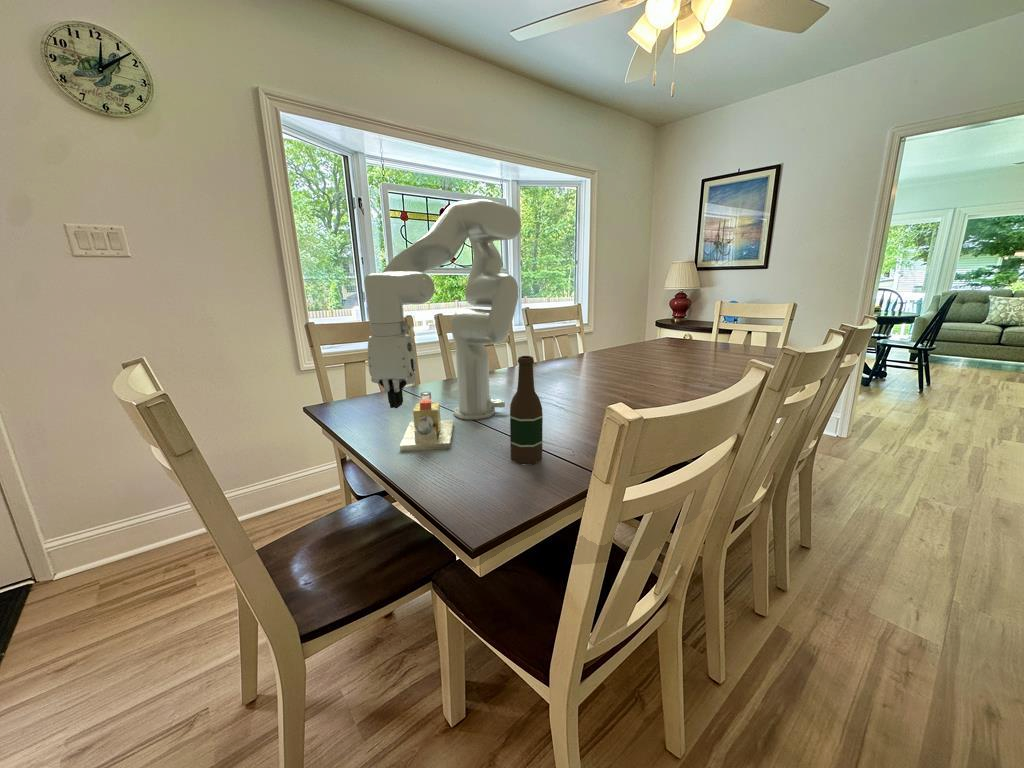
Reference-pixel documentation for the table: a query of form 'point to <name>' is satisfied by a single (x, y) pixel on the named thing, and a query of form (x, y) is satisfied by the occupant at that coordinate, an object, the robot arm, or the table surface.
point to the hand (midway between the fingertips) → (396, 406)
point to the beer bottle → (526, 417)
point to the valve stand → (427, 430)
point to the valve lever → (425, 401)
